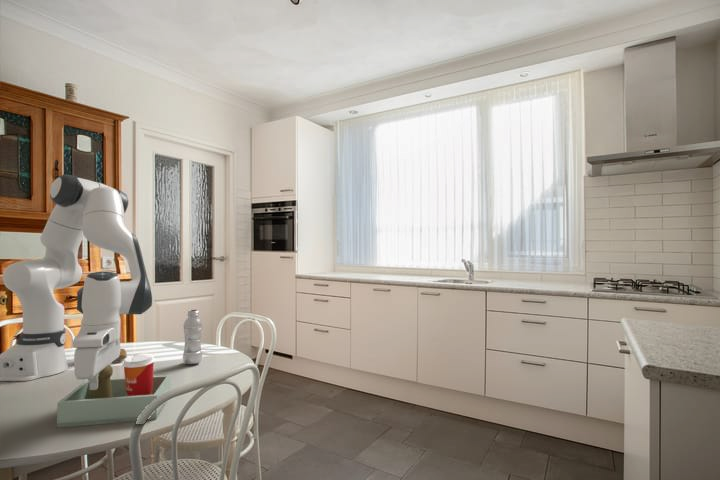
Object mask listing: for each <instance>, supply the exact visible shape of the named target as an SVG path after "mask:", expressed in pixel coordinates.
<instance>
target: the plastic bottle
mask: <svg viewBox="0 0 720 480" xmlns="http://www.w3.org/2000/svg"><path fill="white" fill-rule="evenodd" d="M199 313H200V310H199V309H189V310H188V311H187V316H188V317H187V319H185V321H184V322H183V325H182V326H183V331H184V332H183V333H184V347H183V348H184V349H183V354H182V361H183V363H184V364H185V365H195V364H200V363H201V361H202V358H203V355H202V354H203V353H202V346H201V338H202V336H201V335H202V329H203V322H202V320H201V319H200V317H199V315H200V314H199Z"/></svg>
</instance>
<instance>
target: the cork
mask: <svg viewBox="0 0 720 480" xmlns="http://www.w3.org/2000/svg"><path fill="white" fill-rule="evenodd" d="M113 371H114V370H113V367H112V365H111V366H110V365H108V366H107V367H106V368H104V369H103V370H102V371H101V372H99V376H98V381H100V384H99V385H100V386H99V388H98V389H96V390H90V394H89V399H97V398H111V397H113V396H112V388H111V380H110V379H111V377H112V376H113V373H114V372H113Z"/></svg>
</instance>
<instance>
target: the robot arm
mask: <svg viewBox="0 0 720 480" xmlns="http://www.w3.org/2000/svg"><path fill="white" fill-rule="evenodd" d="M49 198H50V200H51V201H52V203H54V204H56V205H55V206H54V207H53V209H52V210H51V212H50V215H49V217H48V219H47V221H46V224H45V227H44V228H43V230H42V233H41V235H40V242H41V244H42V246H44V247H45V254H44V257H43V258H40V259H39V258H36V259H35V258H34V259H25V260H21V261H16V262H14V263H11V264H9V265H8V266H7V267H6V268H5V269H4V271H3V274H2V282H3V284H4V286H5V287H6V289H8V290H9V291H11V292H12V293H13V294H15V296H16V297H17V299H18V302H19V303H20V306H21V309H22V310H21V311H22V331H21V332H20V333H18V334H16V335H15V336H13V339H12V341H16V342H15V344H14V345H12V346H10V347H9V348H8V349H6V350H4V351H3V352H2V353H0V382H17V381H18V382H21V381H22V382H25V381H32V380H36V379H39V378H44V377H48V376H53V375H57V374H60V373H63V372H65V371H67V370H68V369H69V365H68V362H67V358H66V351H65V345H66V339H67V337H66V336H67V335H66V328H65V307H64V305H63V304H62V303H61V302H58V301H57V299H56V297H55V293H54V290H59V289H66V288H68V287H71V286H74V285H75V284H77V283H79V282H80V280H81V279H82V276H83V268H82V266H81V265H80V264H79V261H78V260H79V259H78V256H79V255H78V254H79V250H80V249H79V248H80V245H81V244H82V241H83V238H84V237H85V239H86V240H87V241H88V242H89V243H91V244H92V245H93V246H95V247H97V248H100V249H104V250H107V251H111V252H114V253H116V254H118V255H121V256H122V257H124V258H125V260H127V264H128V268H129V273H130V278H131V280H128V281H121V279H120V277H119V276H120V275H119V274H117V273H115V272H111V271H95V272H91V273H88V274H87V275H86V276H85V277H84V283H83V286H81V288H80V289H78V290H77V291H76V297H77V299H76V300H77V302H76V303H77V304H76V310H77V311H78V312H79V313H81V314H82V319H81V321H80V329H79V331H78V333H77V335H76V336H75V337H74V338H73V340H72V348H74V349H75V350H74V359H73V360H74V362H73V364H74V365H73V367H74V375H75V378H76V379H77V380H88V381H89V383H90V386H89V389H90V390H96V389H98V388H99V386H100V385H99V384H100V381H98V376H99V372H101V371H102V370H103V369H104V368H106V367H107V366H108V365H110V366H111V367H112V364H113V363H112V362H113V361H114V360H116V359H117V358H118V357H119V355H120V349H121V321H122V320H121V316H120V315H142V314H144V313H146V312H147V311H148V310H149V309H151V307H152V306H153V300H154V294H153V292H154V291H153V290H152V286H151V285H150V281H149V278H148V275H147V271H146V270H147V269H146V265H145V263H144V262H145V261H144V258H143V253H142V250H141V246H140V243H139V240H138V238H137V236H136V234H134V233H132V232H131V231H130V230H129V229H128V227H126V224H125V213H126V211H127V209H128V206H129V198H128V195H127V194H126V193H125V192H124V191H121V190H120V189H118V188H114V187H112V186H109V185H106V184H104V183H102V182H99V181H93V180H90V179H86V178H81V177H77V176H76V175H72V174H61V175H59V176H57V177H56V178H55V179H54V180H53V182H52V183H51V185H50V188H49Z"/></svg>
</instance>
